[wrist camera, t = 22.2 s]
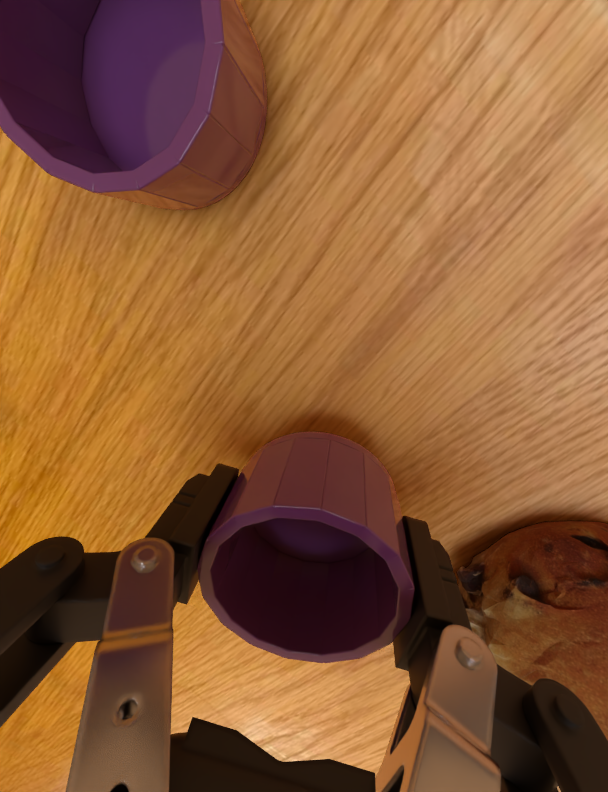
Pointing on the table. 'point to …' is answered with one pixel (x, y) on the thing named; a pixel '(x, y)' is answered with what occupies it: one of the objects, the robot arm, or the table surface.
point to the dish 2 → (310, 552)
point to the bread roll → (546, 606)
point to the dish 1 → (134, 95)
